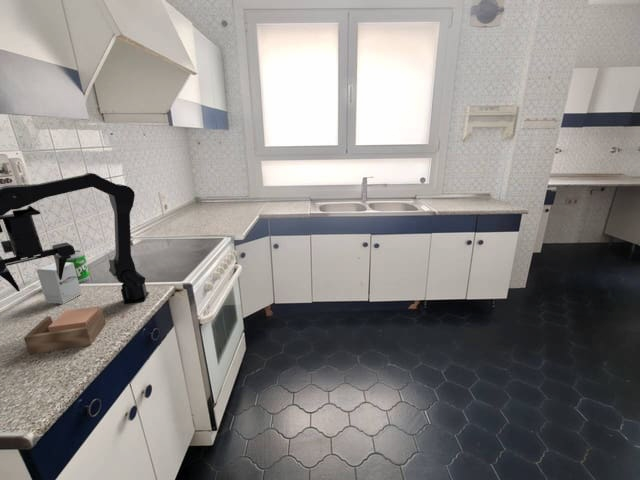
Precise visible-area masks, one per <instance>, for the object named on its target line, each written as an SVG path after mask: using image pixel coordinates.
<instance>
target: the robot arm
mask: <svg viewBox="0 0 640 480" xmlns="http://www.w3.org/2000/svg"><path fill="white" fill-rule="evenodd" d="M89 188H94V189H96V190H99V191H100V192H102V193H105V194H107V195H108V199H109V203H110V205H111V208H112V211H113V215H114V238H115V239H114V245H115V256H114V258H113V259H108V262H109V269H108V272H109V273H111V275H112V276H113V277H114V278H115V279H116V280H117V281H118V282H120V283H121V289H120V292H121V296H122V300H124V301H123V304H124V305H126V304H135V303H140V302H145V301H146V299H147V297H148V295H149V293H150V292H149V291H148V290H147V287H146V277H145V276H144V275H143V274H141V273H140V272H138V271H137V269H136V265H135V261H134V260H133V256H132V250H131V248H132V247H131V246H132V245H131V244H132V243H131V212H132V210H133V207H134V201H135V197H136V194H135V191H134V190H133V189H132V188H131V187H129V186H127V185H124V184H120V183H118V184H117V183H114V182H113V181H110V180H108V179H105V178H104V177H102V176H99V174H96V173H93V172H87V173H84V174H81V175H76V176H71V177H67V178H62V179H61V178H60V179H56V180H51V181H47V182H42V183H35V184H15V185H3V186H0V220H2V222H3V224H4V228H5V230H6V233H7V236H8V238H9V240H3V241H0V245H1V246H2V247H1V248H2V251H3V252H4V254H9V253H13V255H14V256H12V257H8V258H3V257H2V256H1V255H0V277H1V278H3V279H4V280H6V281H7V282H8V283H9V284H10V285H11V286H12V287H13V288H14V289H15V290H16V292H20V291H21V290H20V287H19V285H18V283H17V282H16V280H15V278H14V277H13V275H12V273H11V272H10V269H8V267H7V266H12V265H16V264H21V263H26V262H29V261H33V260H38V259H44V258H47V257H51V256H53V258H54V263H56V268H57V274H58V277H59V280H61V279H62V275H63V270H64V266H65V263H66V261H67V259H68V258H71V256H70V255H73V254H75V250H76V249H75V248H74V246H73V245H72V244H70V243H69V242H62V243H61V242H60V243H57V244H53V245H52V248H49V249H46V250H44V249H43V246H42V243H41V240H40V237H39V234H38V230H37V228H36V224H35V221H34V218H33V216H36V215H41V211H40V210H38V209H36V208H34V207H33V206H32V204H35V203H36V202H38V201H41V200H43V199H46V198H50V197H55V196H58V195H63V194H68V193H72V192H77V191H81V190H85V189H89ZM24 207H26V208H24ZM22 208H23V209H22ZM11 210H12V211H11ZM10 211H11V212H12V213H10V214H8V213H9V212H10ZM1 233H4V230H3V228H2V225H1V223H0V234H1Z"/></svg>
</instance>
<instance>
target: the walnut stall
mask: <svg viewBox="0 0 640 480" xmlns="http://www.w3.org/2000/svg"><path fill="white" fill-rule="evenodd" d="M53 322H54V321H53V318H52V316H51V315H49V316H45V317H44V318H43V319H42V321H40V322H39V323H38V324H37V325H35V327H34V328H32V329H31V330H30V331H29V332H28V333H27V334H26V335H25V336H24V337H23V341H24V343H25V346H26V348H27V351H28V354H29V355H34V354H35V355H36V354H41V353H49V352H54V351H60V350H65V349H72V348H77V347H78V348H79V347H85V346H91V345H92V344H93V343H94V341H95V340H96V339H97V337H98V336H99V335H100V333H101V332H102V330H103V329H104V327H105V326H106V325H107V323H106V319H105V315H104V311H103V308H102V309H101V308H99V310H98V311H97V312H96V313H95V314H94V316H93V317H92V318H91V319H90V321H89V322H88V323H87V324H86V325H85V327H82V328H75V329H68V330H61V331H55V332H49V329H48V326H50V325H51V324H52V323H53Z"/></svg>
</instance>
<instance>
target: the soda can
mask: <svg viewBox="0 0 640 480" xmlns="http://www.w3.org/2000/svg"><path fill="white" fill-rule="evenodd" d="M74 250H75V254H73V255H70V256H71V258H68V259H67V261H66V262H70V263H74V267H75V270H76V274H77V278H78V281H79V284H82V283H85V282H88V280H89V279H90V277H91V274H90V271H89V268H88V263H87V260H86V255H85V253H84V252H83V251H81V250H80V249H79V250H77V249H74Z"/></svg>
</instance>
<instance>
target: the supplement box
mask: <svg viewBox="0 0 640 480" xmlns="http://www.w3.org/2000/svg"><path fill="white" fill-rule="evenodd" d="M36 272H37V273H36V274H37V277H38V280H39V283H40V285H41V286H40V287H41V289H42V291H43V292H42V293H43V295H44V298H45V302H46V303H50V304H56V303H60V304H59V305H64V304H66V303H67V302H69V300H70V301H71V299H72V300H73V298H74V299H76V298H78V297H80V296H82V295H83V293H82V288H81V285H80V283H79V281H78V278H77V274H76V270H75V267H74V263H70V262H66V263H65V266H64V270H63V275H62V279H61V280H59V277H58V274H57V268H56V262H54V263H50V264H48V265H45V266H42V267H39V268H37V269H36ZM81 294H82V295H81ZM79 295H80V296H79ZM77 296H78V297H77ZM75 297H76V298H75Z"/></svg>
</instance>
